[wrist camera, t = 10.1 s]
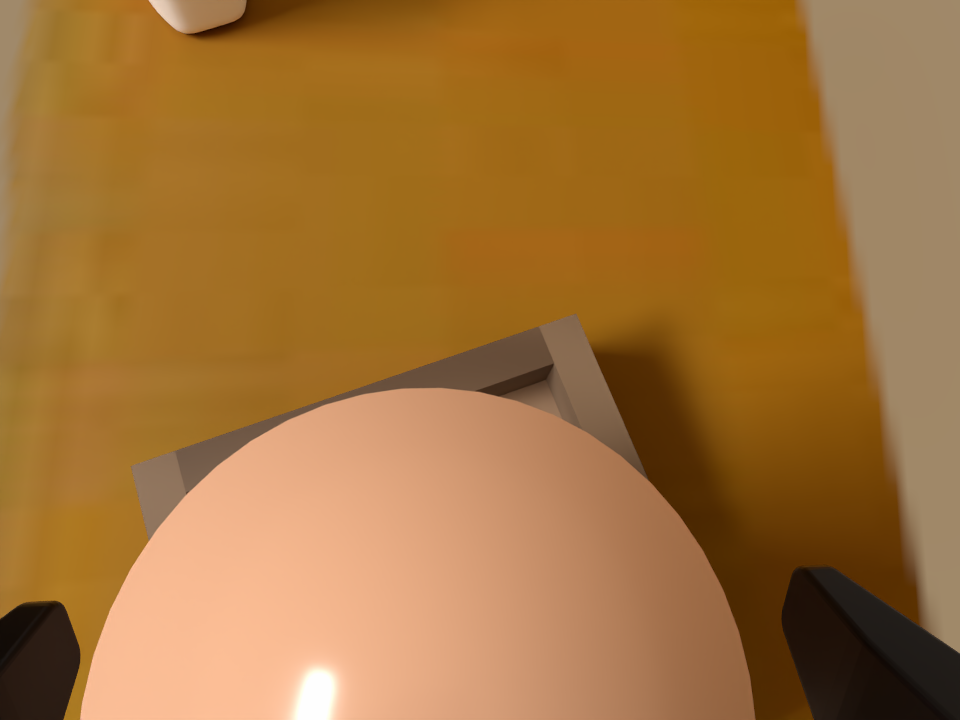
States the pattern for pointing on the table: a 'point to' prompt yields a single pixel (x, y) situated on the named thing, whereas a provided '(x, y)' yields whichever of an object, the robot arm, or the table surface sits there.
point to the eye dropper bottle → (199, 13)
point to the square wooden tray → (487, 369)
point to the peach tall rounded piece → (421, 580)
